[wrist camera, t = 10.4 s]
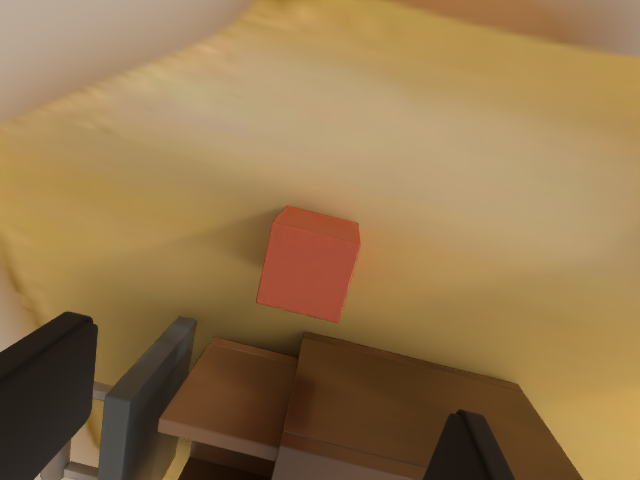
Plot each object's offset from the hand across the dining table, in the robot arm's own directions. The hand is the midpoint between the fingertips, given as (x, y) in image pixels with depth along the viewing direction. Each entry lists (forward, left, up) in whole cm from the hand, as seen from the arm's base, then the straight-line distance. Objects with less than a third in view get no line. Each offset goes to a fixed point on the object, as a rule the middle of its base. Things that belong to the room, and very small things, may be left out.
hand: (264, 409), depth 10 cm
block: (0, 0, -14) cm, 14 cm away
